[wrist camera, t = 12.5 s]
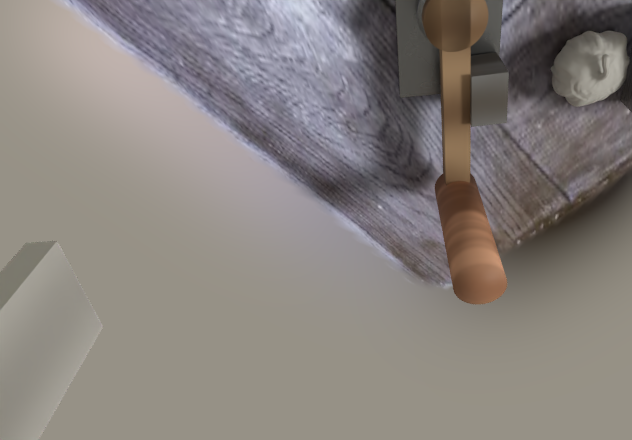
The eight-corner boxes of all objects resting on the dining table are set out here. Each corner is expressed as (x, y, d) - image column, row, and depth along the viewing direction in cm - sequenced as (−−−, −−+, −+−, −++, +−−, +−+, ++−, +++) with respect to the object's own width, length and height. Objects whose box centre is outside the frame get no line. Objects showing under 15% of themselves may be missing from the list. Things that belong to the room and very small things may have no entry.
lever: (418, -20, 38) (439, 39, 26) (498, -33, 37) (560, 22, 25) (429, 193, 49) (448, 305, 37) (492, 188, 48) (532, 301, 36)
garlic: (571, 10, 40) (595, 28, 35) (633, 33, 40) (663, 54, 36) (529, 81, 43) (546, 106, 39) (587, 102, 44) (610, 128, 39)
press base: (392, -61, 38) (393, -56, 35) (505, -77, 37) (514, -73, 34) (399, 94, 45) (401, 107, 42) (495, 84, 43) (502, 97, 41)
